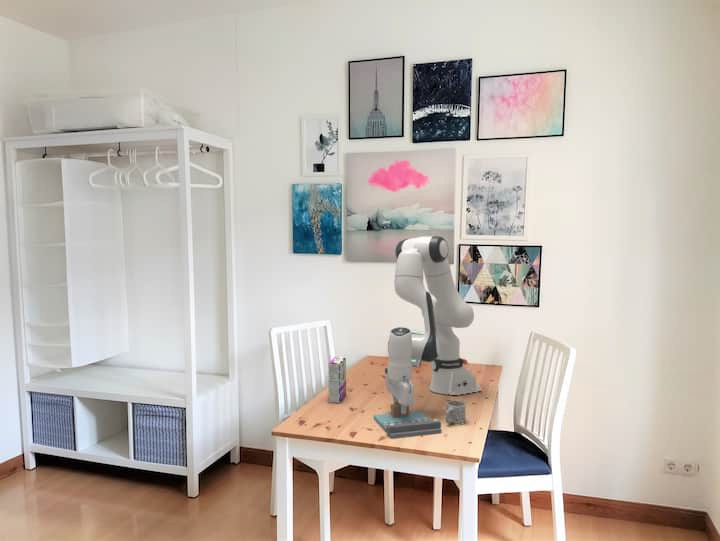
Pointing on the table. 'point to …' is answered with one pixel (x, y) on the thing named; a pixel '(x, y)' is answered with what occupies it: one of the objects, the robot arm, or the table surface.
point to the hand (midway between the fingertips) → (399, 410)
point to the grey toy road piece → (412, 428)
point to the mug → (455, 412)
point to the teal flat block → (399, 416)
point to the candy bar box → (337, 379)
